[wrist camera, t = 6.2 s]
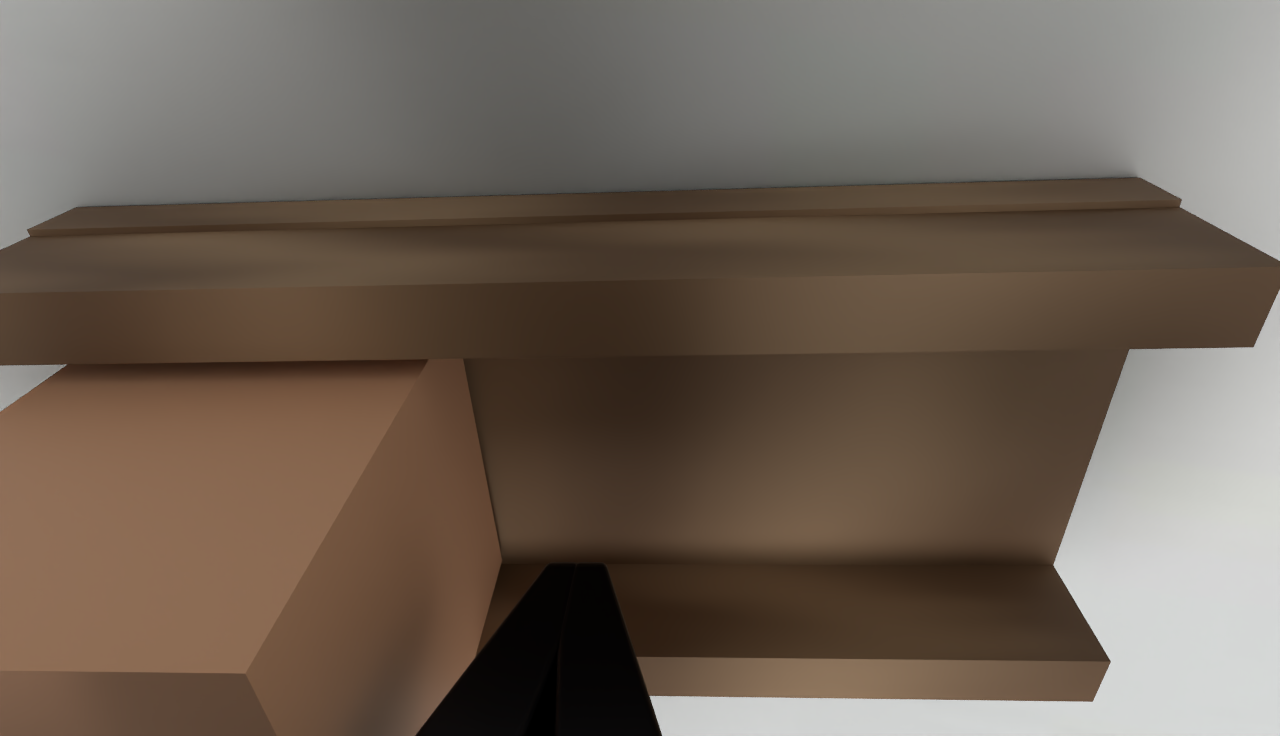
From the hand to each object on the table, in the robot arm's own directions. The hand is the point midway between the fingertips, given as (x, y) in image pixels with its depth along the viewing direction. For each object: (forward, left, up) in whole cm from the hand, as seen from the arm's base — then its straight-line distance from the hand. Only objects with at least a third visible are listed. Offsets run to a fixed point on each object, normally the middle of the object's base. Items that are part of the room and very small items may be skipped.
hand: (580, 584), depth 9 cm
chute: (0, 0, -4) cm, 4 cm away
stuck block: (-5, 0, -3) cm, 5 cm away
